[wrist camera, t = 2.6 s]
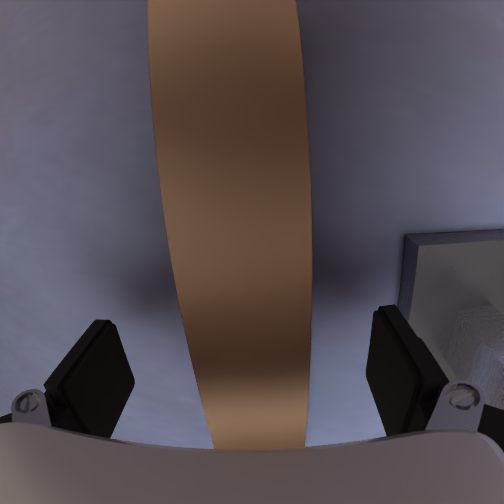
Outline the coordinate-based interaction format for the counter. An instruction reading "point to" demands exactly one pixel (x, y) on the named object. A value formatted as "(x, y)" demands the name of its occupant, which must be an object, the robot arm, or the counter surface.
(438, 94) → the counter surface
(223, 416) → the walnut beam
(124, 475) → the robot arm
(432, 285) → the ridge
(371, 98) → the counter surface
